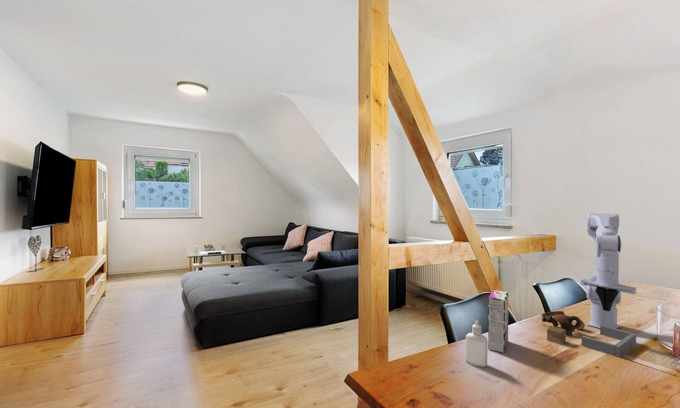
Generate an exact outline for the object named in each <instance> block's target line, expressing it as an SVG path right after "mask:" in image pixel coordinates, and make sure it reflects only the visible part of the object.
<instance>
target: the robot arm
mask: <svg viewBox="0 0 680 408" xmlns="http://www.w3.org/2000/svg"><path fill="white" fill-rule="evenodd" d="M619 226H620V216H619V214H618V213H591V212H588V213H587V214H586V228H587V230H586V231H587V234H588V236H590V237H591V238H592V239H593V241H594V244H595V245H594V246H595V248H594V249H595V255H594V257H595V275H594V276H592V277H590V278H588V279H587V278H582V279H580V285H582V286H586V299H587V300H589V301H590V320H589V321H588V322H587V323H585V325H586V326H590V327H594V328H597V329H600V326H601V325H603V326H607V327H611V328H615V329H619V328H620V327H621V325H620V324H618V308H617V305H619V304H621V300H622V298H621V297H622V294H621V293H625V294H630V295H636V294H637V287H634V286H630V285H625V284H624V285H623V284H620V283H619V277H620V276H619V269H620V268H619V266H620V259H619V258H620V253H621V251H622V238H621V236H620V235H619V234H618V232H619Z"/></svg>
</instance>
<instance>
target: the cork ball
mask: <svg viewBox="0 0 680 408" xmlns="http://www.w3.org/2000/svg"><path fill="white" fill-rule="evenodd" d="M580 320H581V326H580V327H579V328H578V329H577V330H583V329H585V325H586V323H585V322H584V321H583V320H582V319H580ZM576 322H577V321H576V320H573V322H572V324H573V325H575V324H576Z"/></svg>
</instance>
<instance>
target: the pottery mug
mask: <svg viewBox="0 0 680 408" xmlns="http://www.w3.org/2000/svg"><path fill="white" fill-rule="evenodd" d="M541 317H542V318H541V322H542V323H549V324H552V326H553V327H558V326H559V325H560V327H559V328H560V329H564V330H566V336H574V335H573V332H574V331H575V330H579V329H578V328H579V327H580V326H581V320H582V319H581V318H580V317H578V316H575V315H566V313H565V311H563V310H557V311H547V312H544V313H542V314H541ZM574 320H576V321H577V322H576V324H575V325H573V321H574Z"/></svg>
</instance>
